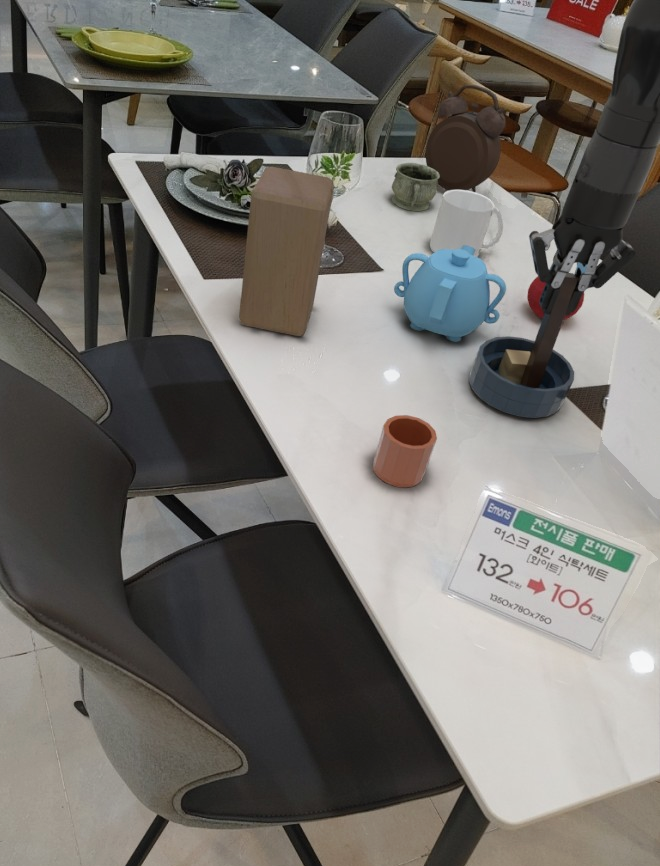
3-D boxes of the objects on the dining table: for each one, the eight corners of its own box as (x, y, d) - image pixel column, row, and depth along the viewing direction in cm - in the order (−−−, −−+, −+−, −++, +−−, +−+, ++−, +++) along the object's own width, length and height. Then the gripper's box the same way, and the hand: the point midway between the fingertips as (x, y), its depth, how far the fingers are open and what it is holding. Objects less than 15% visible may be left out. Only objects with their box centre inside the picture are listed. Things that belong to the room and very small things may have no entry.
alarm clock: (490, 200, 160) (523, 95, 146) (473, 208, 155) (506, 101, 141) (431, 176, 165) (458, 73, 152) (413, 183, 161) (439, 78, 147)
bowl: (547, 371, 114) (559, 341, 110) (571, 425, 104) (586, 395, 101) (460, 361, 113) (471, 331, 109) (477, 416, 103) (489, 385, 100)
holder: (419, 455, 95) (432, 417, 91) (426, 490, 91) (440, 451, 87) (370, 451, 95) (381, 412, 91) (375, 485, 90) (386, 446, 86)
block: (521, 372, 111) (530, 351, 109) (527, 387, 109) (536, 365, 106) (497, 370, 111) (505, 349, 108) (503, 384, 108) (512, 363, 106)
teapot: (480, 368, 112) (507, 295, 104) (372, 335, 115) (390, 261, 107) (501, 309, 126) (527, 240, 117) (405, 281, 129) (423, 212, 121)
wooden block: (313, 307, 119) (336, 176, 105) (303, 340, 111) (327, 204, 98) (250, 294, 119) (264, 162, 105) (236, 326, 112) (250, 189, 98)
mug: (428, 256, 137) (442, 205, 130) (430, 236, 143) (444, 185, 137) (494, 270, 136) (512, 219, 129) (493, 249, 142) (510, 199, 136)
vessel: (389, 188, 157) (396, 156, 153) (431, 195, 157) (439, 164, 153) (388, 211, 149) (395, 178, 144) (433, 219, 149) (442, 186, 144)
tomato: (572, 335, 122) (593, 290, 117) (518, 320, 124) (536, 275, 118) (574, 311, 129) (594, 266, 123) (523, 297, 130) (540, 252, 124)
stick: (533, 384, 108) (573, 273, 98) (537, 391, 106) (578, 278, 97) (520, 383, 108) (558, 271, 98) (523, 389, 106) (563, 276, 97)
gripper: (654, 173, 92) (595, 303, 104) (544, 159, 91) (497, 292, 103) (678, 198, 87) (613, 332, 99) (561, 183, 86) (509, 321, 98)
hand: (554, 311), depth 101 cm, fingers closed on stick, 2 cm apart
